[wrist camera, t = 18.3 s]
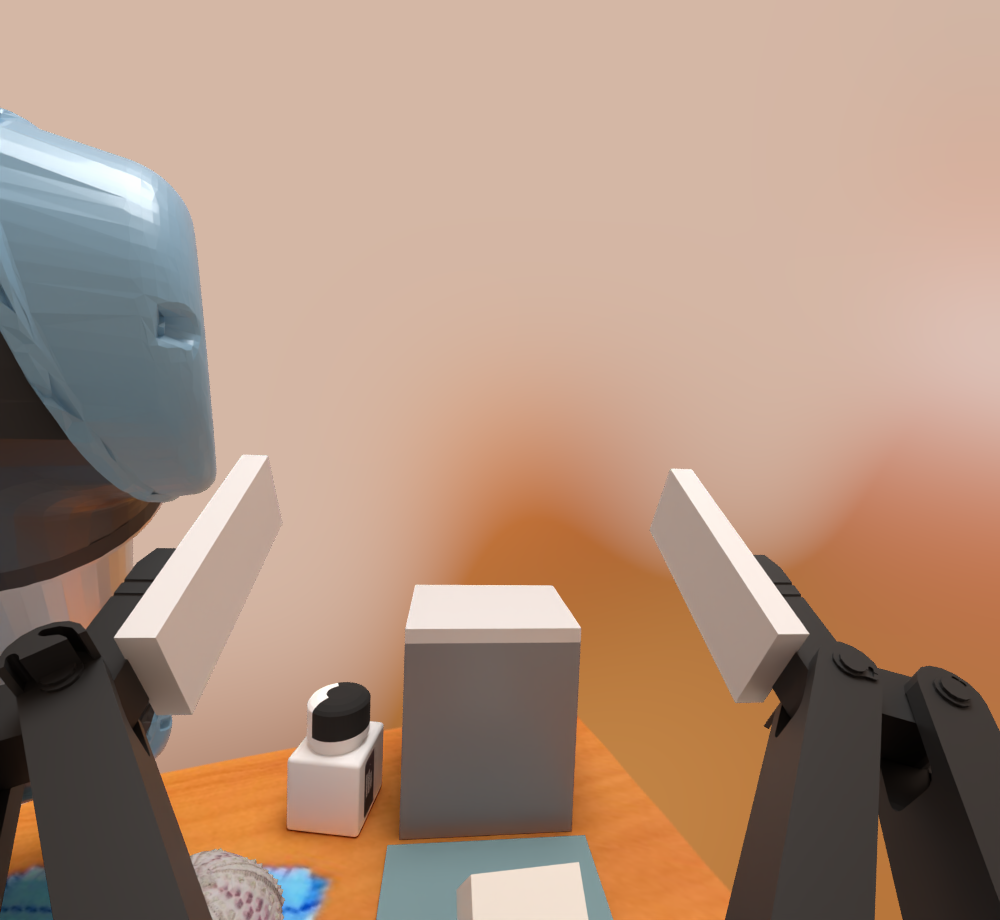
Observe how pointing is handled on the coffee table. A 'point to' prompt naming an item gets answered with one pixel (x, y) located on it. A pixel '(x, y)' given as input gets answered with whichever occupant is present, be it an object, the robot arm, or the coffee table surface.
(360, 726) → the container
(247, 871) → the sea urchin shell
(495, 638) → the stand
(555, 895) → the tall white block
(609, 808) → the coffee table surface
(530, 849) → the mat
